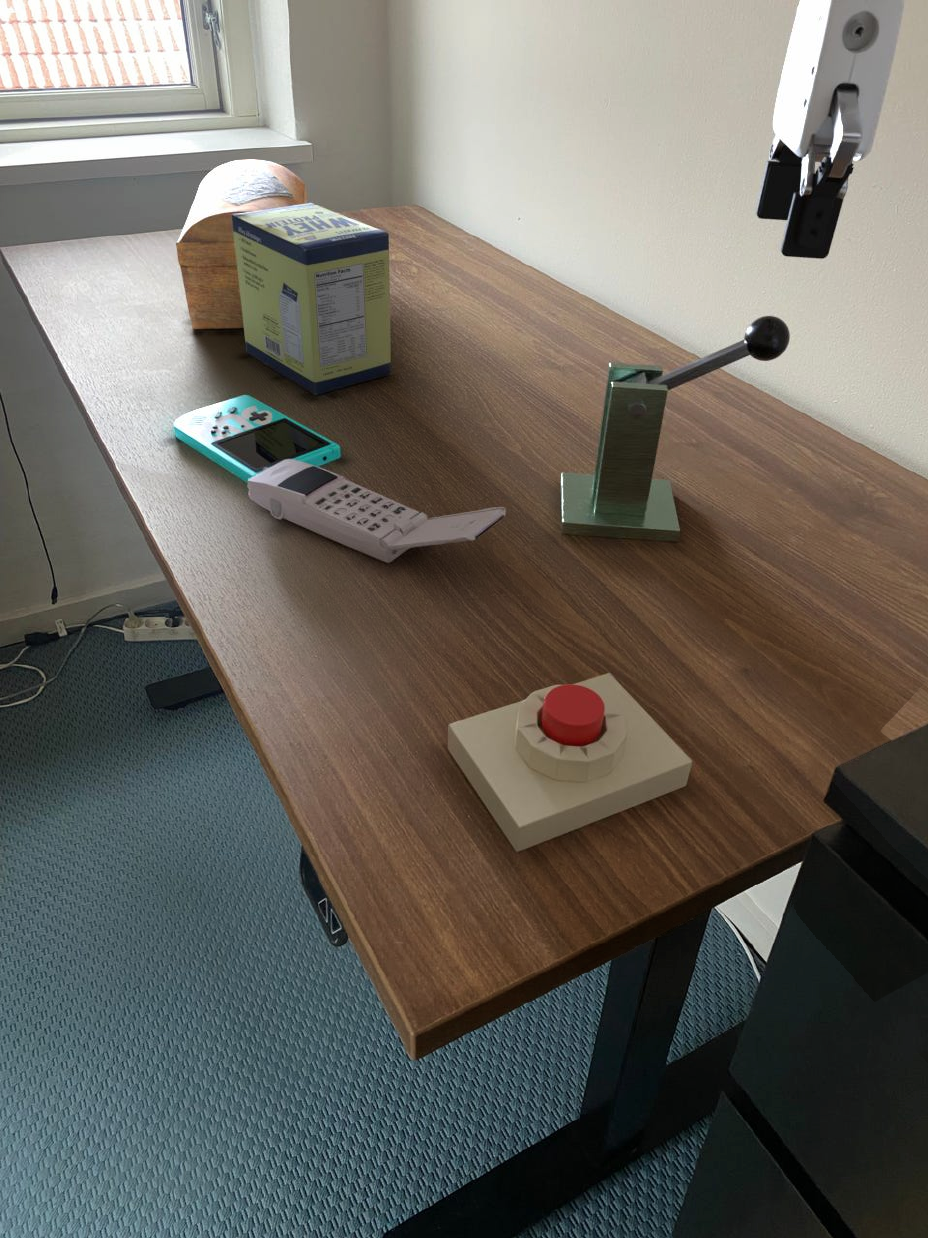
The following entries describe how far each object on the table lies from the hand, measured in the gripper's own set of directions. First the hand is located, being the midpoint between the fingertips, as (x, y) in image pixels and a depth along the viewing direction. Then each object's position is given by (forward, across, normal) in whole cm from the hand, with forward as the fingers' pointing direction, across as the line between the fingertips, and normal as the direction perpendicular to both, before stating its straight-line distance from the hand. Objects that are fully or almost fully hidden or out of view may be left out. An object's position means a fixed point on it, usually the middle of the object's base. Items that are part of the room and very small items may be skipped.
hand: (788, 236), depth 68 cm
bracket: (+24, 0, +9) cm, 26 cm away
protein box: (+25, +29, +42) cm, 57 cm away
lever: (+12, 0, +4) cm, 12 cm away
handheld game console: (+25, +8, +44) cm, 51 cm away
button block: (+24, -32, +14) cm, 43 cm away
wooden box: (+25, +53, +55) cm, 80 cm away
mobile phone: (+24, -7, +31) cm, 40 cm away
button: (+20, -32, +14) cm, 41 cm away
